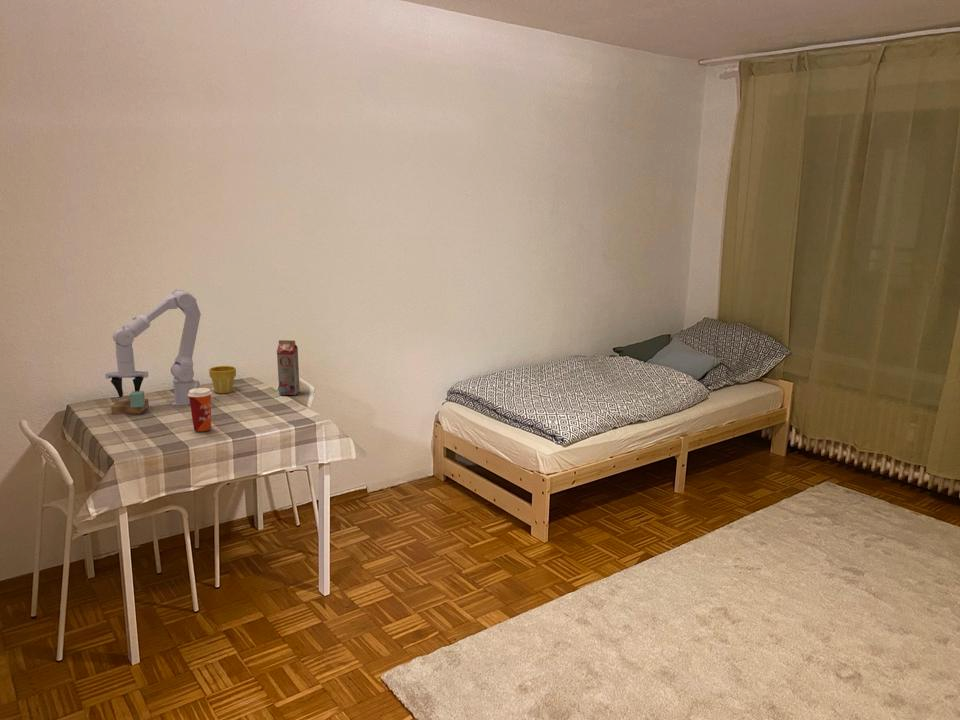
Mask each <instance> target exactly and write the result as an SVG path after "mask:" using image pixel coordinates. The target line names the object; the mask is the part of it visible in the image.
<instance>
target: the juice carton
mask: <svg viewBox="0 0 960 720" xmlns="http://www.w3.org/2000/svg"><path fill="white" fill-rule="evenodd" d="M276 358H277V362H276V363H277V379H278V393H279V396H281V395H282V396H284V395H285V396H289V395H290V396H296V395H297V394H298V393H299V392H300V390H301V389H300V388H301V387H300V372H299V370H300V369H299V349H298V346H297V345H296V340H287V339H286V340H285V339H284V340H283V339H282V340H279V339H278V346H277V348H276Z"/></svg>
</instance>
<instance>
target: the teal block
mask: <svg viewBox="0 0 960 720" xmlns="http://www.w3.org/2000/svg"><path fill="white" fill-rule="evenodd" d="M129 399H130V403H131V407H143V406H144V405H145V399H146V398H145V391H144V390H140V391H135V390H134V391H131V392H130V393H129Z"/></svg>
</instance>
